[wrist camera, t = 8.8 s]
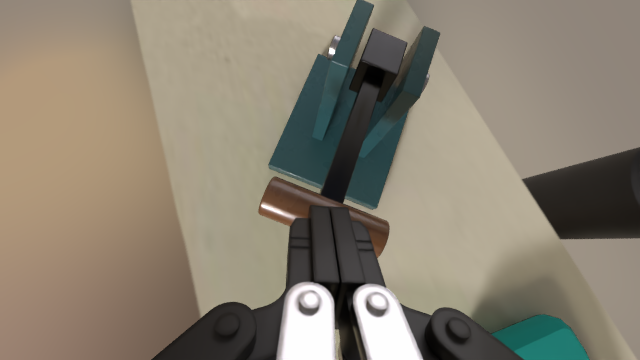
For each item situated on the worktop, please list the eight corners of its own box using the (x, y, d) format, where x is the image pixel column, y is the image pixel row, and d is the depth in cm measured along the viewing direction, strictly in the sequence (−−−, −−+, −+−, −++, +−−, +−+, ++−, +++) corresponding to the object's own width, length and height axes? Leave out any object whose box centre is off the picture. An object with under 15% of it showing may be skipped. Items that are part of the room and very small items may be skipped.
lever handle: (366, 262, 13) (387, 256, 11) (258, 220, 13) (256, 204, 11) (413, 82, 18) (434, 52, 16) (336, 49, 18) (346, 16, 16)
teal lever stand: (372, 210, 25) (446, 181, 13) (269, 168, 25) (254, 103, 13) (409, 99, 28) (494, -1, 16) (316, 61, 28) (339, -68, 16)
